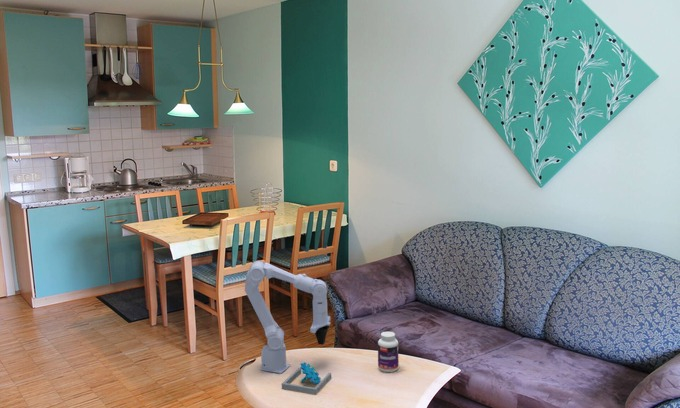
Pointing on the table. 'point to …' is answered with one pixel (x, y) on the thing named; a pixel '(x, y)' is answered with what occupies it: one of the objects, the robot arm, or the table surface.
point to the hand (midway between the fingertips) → (321, 343)
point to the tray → (304, 389)
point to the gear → (309, 373)
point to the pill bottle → (388, 352)
